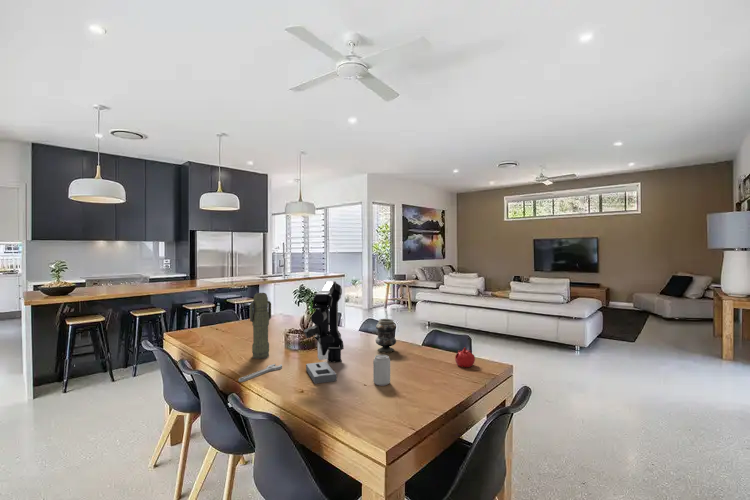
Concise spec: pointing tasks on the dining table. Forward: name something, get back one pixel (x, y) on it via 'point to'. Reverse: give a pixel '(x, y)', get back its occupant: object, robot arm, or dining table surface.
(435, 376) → the dining table surface
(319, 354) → the steel peg
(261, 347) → the thermos
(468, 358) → the pomegranate
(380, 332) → the apothecary jar
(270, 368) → the adjustable wrench
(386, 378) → the can
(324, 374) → the socket plate
